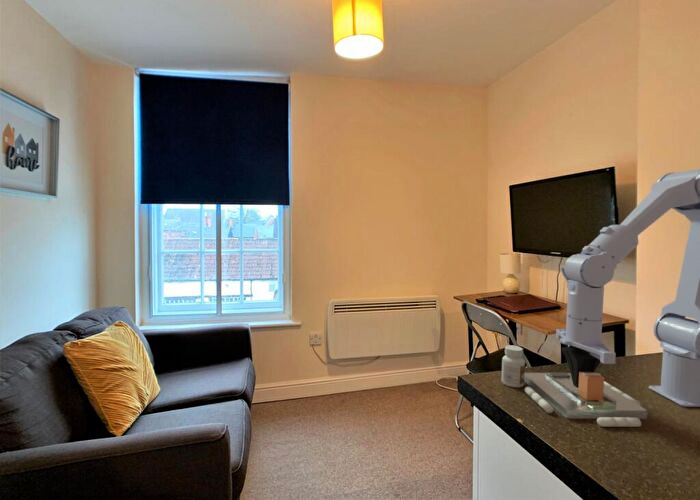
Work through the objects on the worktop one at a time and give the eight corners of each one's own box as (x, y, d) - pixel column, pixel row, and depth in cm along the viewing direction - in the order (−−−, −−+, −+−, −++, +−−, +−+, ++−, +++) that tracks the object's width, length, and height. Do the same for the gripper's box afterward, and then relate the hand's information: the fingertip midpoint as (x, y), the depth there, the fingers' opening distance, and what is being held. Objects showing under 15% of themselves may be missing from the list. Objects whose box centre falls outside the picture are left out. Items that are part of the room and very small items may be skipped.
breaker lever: (594, 393, 68) (595, 371, 68) (602, 399, 66) (604, 376, 66) (578, 393, 68) (579, 370, 68) (586, 399, 66) (587, 376, 66)
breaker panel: (586, 379, 79) (586, 370, 79) (646, 419, 63) (647, 407, 63) (522, 379, 79) (522, 370, 79) (566, 418, 63) (567, 406, 63)
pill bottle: (526, 389, 74) (528, 352, 74) (503, 387, 75) (505, 350, 74) (521, 380, 78) (522, 345, 78) (499, 378, 79) (500, 343, 79)
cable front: (530, 392, 73) (530, 385, 73) (553, 413, 64) (553, 405, 64) (523, 392, 73) (523, 385, 73) (545, 413, 64) (545, 405, 64)
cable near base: (603, 385, 76) (603, 379, 76) (640, 408, 66) (640, 401, 66) (596, 385, 76) (596, 379, 76) (632, 408, 66) (633, 401, 66)
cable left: (634, 423, 61) (634, 415, 61) (640, 428, 60) (641, 420, 60) (594, 423, 61) (595, 415, 61) (600, 428, 60) (600, 420, 60)
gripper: (542, 308, 76) (540, 371, 77) (588, 327, 62) (584, 405, 63) (576, 308, 76) (573, 371, 77) (629, 328, 62) (624, 405, 63)
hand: (580, 386), depth 70 cm, fingers closed
